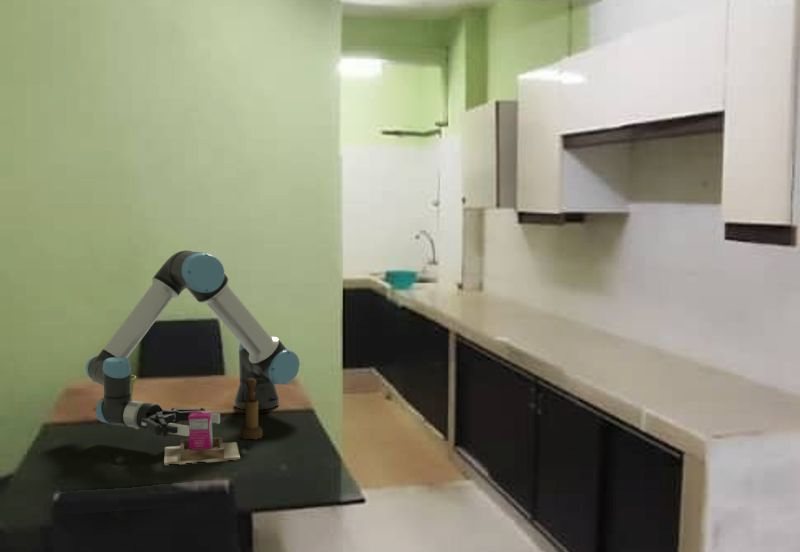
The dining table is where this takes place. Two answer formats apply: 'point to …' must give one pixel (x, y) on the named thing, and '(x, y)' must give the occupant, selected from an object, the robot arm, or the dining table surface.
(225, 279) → the robot arm
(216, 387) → the dining table surface
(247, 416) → the brown tall column piece
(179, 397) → the dining table surface
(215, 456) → the dock
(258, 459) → the dining table surface
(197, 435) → the supplement box
